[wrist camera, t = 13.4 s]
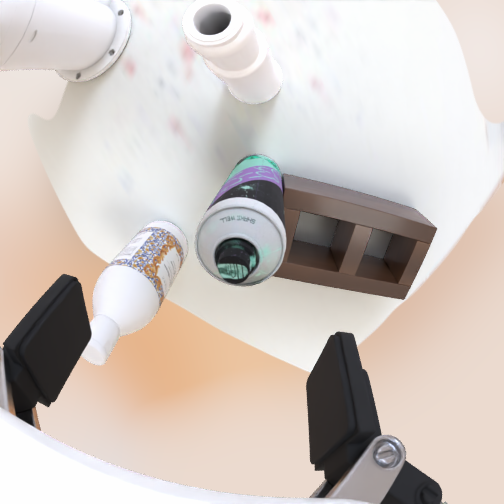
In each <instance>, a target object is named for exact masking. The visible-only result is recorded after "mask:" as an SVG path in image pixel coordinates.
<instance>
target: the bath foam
mask: <svg viewBox="0 0 504 504" xmlns="http://www.w3.org/2000/svg"><path fill="white" fill-rule="evenodd" d="M187 252H188V244H187V240H186V238H185V236H184V234H183V232H182V231H181V230H180V229H179V228H178V227H177V226H175V225H174V224H172V223H170V222H167V221H153V222H150V223H148V224H147V225H146V226H145V227H144V228H143V229H142V230H141V231H140V232H139V233H138V234H137V235H136V236H135V237H134V238H133V239H132V240H131V241H130V242H129V243H128V244H127V245H126V246H125V247H124V248H123V250H122V251H121V252H120V253H119V254H118V255H117V256H116V257H115V258H114V259H113V261H112V262H111V263H110V264H109V265H108V266H107V267H106V269H105V270H104V271H103V272H102V273H101V275H100V277H99V279H98V280H97V282H96V285H95V288H94V292H93V315H94V318H93V320H92V321H91V322H90V327H91V331H92V336H91V339H90V341H89V343H88V345H87V346H86V348H85V350H84V351H83V353H82V355H81V356H82V357H83V358H84V359H85V360H87V361H88V362H90V363H92V364H94V365H103V364H105V362H106V361H107V359H108V357H109V356H110V354H111V352H112V350H113V348H114V347H115V345H116V343H117V341H118V339H119V337H121V336H125V335H128V334H131V333H134V332H136V331H138V330H140V329H142V328H143V327H145V326H146V325H147V324H148V323H149V322H150V321H151V320H152V319H153V317H154V316H155V314H156V313H157V311H158V310H159V308H160V306H161V304H162V302H163V300H164V298H165V296H166V294H167V292H168V290H169V288H170V287H171V285H172V283H173V281H174V279H175V277H176V275H177V273H178V271H179V270H180V268H181V266H182V264H183V262H184V260H185V258H186V256H187Z"/></svg>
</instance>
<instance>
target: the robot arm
mask: <svg viewBox="0 0 504 504" xmlns="http://www.w3.org/2000/svg"><path fill="white" fill-rule="evenodd" d="M130 30H131V15H130V11H129V9H128V7H127V5H126V4H125V3H124V2H123V1H122V0H0V71H8V70H9V71H10V70H31V69H32V70H33V69H35V70H39V69H48V70H51V69H52V70H55V71H56V72H57V73H58V75H59V76H61V77H62V78H63V79H65V80H68V81H72V82H83V81H87V80H91V79H93V78H95V77H97V76H99V75H100V74H102V73H103V72H105V71H106V70H107V69H108V68H109V67H110V66H112V64H113V63H114V62H115V61H116V60H117V59H118V57H119V56H120V54H121V53H122V51H123V49H124V47H125V45H126V43H127V41H128V38H129V35H130ZM114 52H115V53H114ZM91 336H92V331H91V327H90V323H89V319H88V315H87V311H86V306H85V302H84V297H83V292H82V287H81V284H80V283H79V282H78V279H77V278H76V277H73V276H70V275H66V274H63V275H61V276H60V277H59V278H58V279H57V280H56V282H55V283H54V284H53V285H52V286H51V287H50V288H49V289H48V290H47V291H46V292H45V294H44V295H43V296H42V297H41V298H40V299H39V300H38V302H37V303H36V304H35V305H34V306H33V307H32V308H31V309H30V311H29V312H28V313H27V314H26V315H25V317H24V318H23V319H22V320H21V321H20V323H19V324H18V325H17V326H16V328H15V329H14V330H13V331H12V333H11V334H10V335H9V336H8V338H7V339H6V340H5V342H4V343H3V345H4V347H3V349H2V348H1V347H0V504H447V503H446V502H444V503H442V502H441V500H442V490H441V488H440V486H439V484H438V483H437V482H435V481H434V480H433V479H431V478H430V477H428V476H427V475H426V474H424V473H422V472H421V471H419V470H418V469H417V468H415V467H414V466H413V465H411V464H410V463H408V462H407V461H406V460H405V459H406V451H405V447H404V445H403V444H402V442H401V441H400V440H398V439H397V438H396V437H393V436H391V435H381V429H380V425H379V420H378V416H377V411H376V406H375V402H374V398H373V394H372V389H371V385H370V381H369V377H368V374H367V372H366V371H365V370H364V369H362V365H361V361H360V357H359V353H358V349H357V345H356V342H355V338H354V335H353V334H352V333H345V332H336V333H335V335H331V336H330V337H329V339H328V341H327V343H326V345H325V347H324V349H323V351H322V353H321V355H320V357H319V359H318V361H317V362H316V364H315V366H314V368H313V370H312V372H311V374H310V376H309V377H308V380H307V385H306V390H307V406H308V423H309V443H310V462H311V464H315V471H320V470H321V471H322V470H324V474H325V481H324V482H323V483H322V484H321V485H320V486H319V488H317V490H316V491H315V492H314V493H313V494H312V495H311V496H310V497H309V498H283V497H282V498H281V497H265V496H252V495H242V494H233V493H226V492H219V491H213V490H207V489H201V488H196V487H191V486H186V485H182V484H177V483H173V482H169V481H165V480H161V479H158V478H154V477H150V476H147V475H144V474H140V473H137V472H134V471H131V470H128V469H125V468H122V467H119V466H117V465H114V464H111V463H109V462H106V461H103V460H101V459H98V458H96V457H93V456H91V455H89V454H86V453H84V452H82V451H80V450H77V449H75V448H73V447H71V446H69V445H67V444H65V443H63V442H61V441H59V440H57V439H55V438H53V437H51V436H49V435H47V434H45V433H44V432H42V431H41V429H40V425H39V421H38V416H37V412H36V407H35V406H36V404H37V402H39V403H42V404H43V405H45V406H47V407H49V406H50V404H51V402H55V400H56V399H57V397H58V395H59V393H60V391H61V390H62V388H63V386H64V384H65V382H66V381H67V379H68V377H69V375H70V373H71V372H72V370H73V368H74V366H75V365H76V363H77V361H78V360H79V358H80V356H81V355H82V353H83V351H84V350H85V348H86V346H87V345H88V343H89V341H90V339H91Z"/></svg>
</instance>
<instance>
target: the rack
mask: <svg viewBox="0 0 504 504" xmlns="http://www.w3.org/2000/svg"><path fill="white" fill-rule="evenodd" d="M282 190H283V202H284V215H285V228H286V250H285V254H284V258H283V261H282V263H281V265H280V267H279V269H278V270H277V271H276V272H275V273H274V274H273V275H272V276H275V277H280V278H286V279H291V280H296V281H301V282H307V283H312V284H318V285H323V286H328V287H334V288H340V289H345V290H351V291H356V292H362V293H368V294H373V295H379V296H385V297H391V298H397V299H403V300H404V299H405V297H406V295H407V293H408V291H409V289H410V287H411V285H412V283H413V281H414V279H415V277H416V275H417V273H418V271H419V269H420V267H421V265H422V262H423V260H424V258H425V256H426V254H427V251H428V249H429V247H430V244H431V242H432V240H433V237H434V235H435V233H436V230H437V228H436V227H435V226H434V225H433V224H432V223H431V222H430V221H429V220H428V219H426V218H425V217H424V216H423V215H422V214H421V213H420V212H418V211H417V210H416V209H413V208H410V207H407V206H404V205H401V204H398V203H395V202H391V201H388V200H385V199H381V198H378V197H375V196H371V195H368V194H364V193H360V192H357V191H353V190H349V189H346V188H342V187H338V186H334V185H330V184H326V183H322V182H318V181H314V180H310V179H306V178H301V177H297V176H292V175H288V174H283V177H282ZM300 211H303V212H308V213H312V214H317V215H321V216H325V217H330V218H334V219H338V220H339V221H338V224H337V227H336V230H335V234H334V237H333V240H332V243H331V246H330V247H326V246H321V245H316V244H312V243H307V242H302V241H297V240H293V238H294V234H295V230H296V227H297V223H298V219H299V215H300ZM373 228H374V229H378V230H382V231H386V232H390V233H393V236H392V239H391V242H390V244H389V247H388V249H387V251H386V254H385V256H384V259H381V258H376V257H372V256H367V255H363V254H364V251H365V249H366V246H367V243H368V241H369V238H370V235H371V233H372V230H373Z"/></svg>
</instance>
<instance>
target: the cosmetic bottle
mask: <svg viewBox="0 0 504 504" xmlns="http://www.w3.org/2000/svg"><path fill="white" fill-rule="evenodd" d="M182 26H183V31H184V33H185V38H186V41H187V43H188V44H189V46H190V47H191V48H192V49H193V50H194V51H195V52H196V53H198V54H199V55H201V56H202V57H203V59H204V62H205V64H206V65H207V67H208V68H209V69H210V70H211V71H212V72H213V73H214V74H215V75H216V76H217V77H218V78H219V79H221V80H222V81H223V82H224V83H225V84H227V87H228V89H229V91H230V93H231V94H232V95H233V96H234V97H235V98H236V99H238V100H239V101H242V102H244V103H248V104H260V103H264V102H267V101H269V100H270V99H272V98H273V97H274V96H275V95H276V94H277V93H278V92H279V90H280V88H281V85H282V80H283V76H282V71H281V69H280V67H279V65H278V64H277V62H276V61H275V60H274V59H273V58H272V55H271V52H270V49H269V46H268V44H267V42H266V40H265V38H264V36H263V35H262V33H261V32H260V31H259V30H258V29H257V28H255V27H254V23H253V20H252V17H251V15H250V14H249V12H248V11H247V10H246V9H245V8H244V7H243V6H241V5H240V4H238V3H236V2H235V1H234V0H198V1H196V2H195V3H193V4H192V5H191V6H190V7H189V8H188V9H187V11H186V12H185V14H184V17H183V22H182Z"/></svg>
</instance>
